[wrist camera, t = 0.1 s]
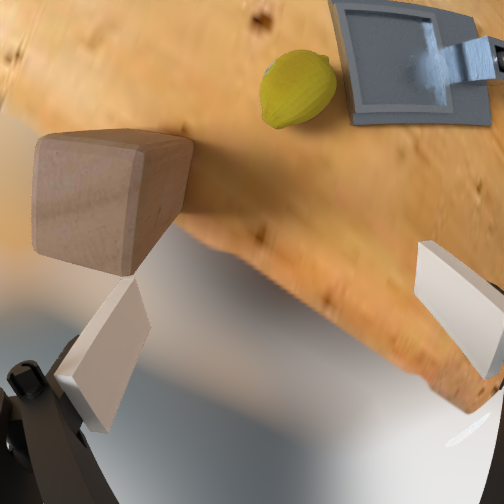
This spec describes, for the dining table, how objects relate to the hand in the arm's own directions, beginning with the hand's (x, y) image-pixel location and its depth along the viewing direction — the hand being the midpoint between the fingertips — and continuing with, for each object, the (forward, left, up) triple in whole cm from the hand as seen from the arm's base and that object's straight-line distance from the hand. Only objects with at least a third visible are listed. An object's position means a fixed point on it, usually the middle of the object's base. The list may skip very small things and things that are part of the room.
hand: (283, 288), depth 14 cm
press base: (-15, +25, -28) cm, 40 cm away
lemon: (-11, +6, -28) cm, 31 cm away
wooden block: (-4, -13, -28) cm, 31 cm away
